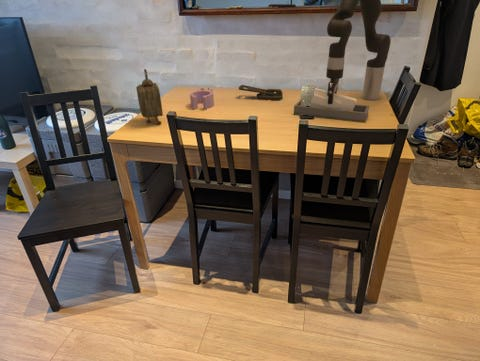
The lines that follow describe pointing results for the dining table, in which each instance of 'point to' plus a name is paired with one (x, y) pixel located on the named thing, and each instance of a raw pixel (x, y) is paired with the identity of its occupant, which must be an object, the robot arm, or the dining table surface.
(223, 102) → the dining table surface
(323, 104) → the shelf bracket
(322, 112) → the grey rectangular tray
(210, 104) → the clip
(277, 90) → the black elongated piece
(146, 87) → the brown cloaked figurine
